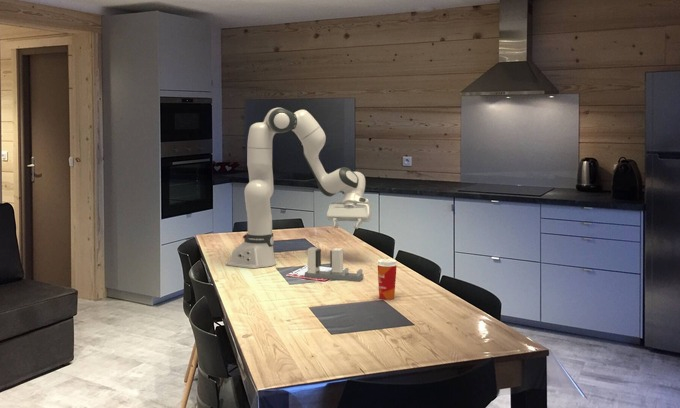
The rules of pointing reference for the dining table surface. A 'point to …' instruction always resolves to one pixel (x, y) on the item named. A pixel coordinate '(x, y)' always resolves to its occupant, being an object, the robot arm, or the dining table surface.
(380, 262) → the paper cup
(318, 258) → the rail
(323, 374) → the dining table surface
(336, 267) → the block
